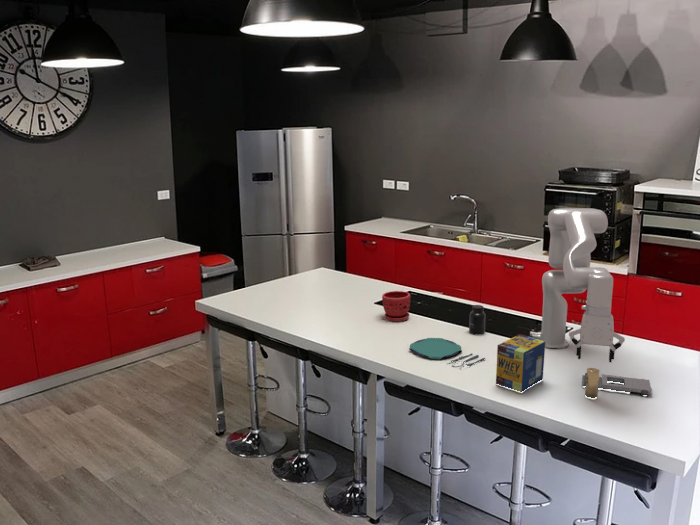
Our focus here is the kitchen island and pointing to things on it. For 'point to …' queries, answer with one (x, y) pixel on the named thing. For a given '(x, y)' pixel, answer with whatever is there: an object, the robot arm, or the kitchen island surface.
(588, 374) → the brass pin
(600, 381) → the hinged hasp latch
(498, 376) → the protein box
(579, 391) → the kitchen island surface
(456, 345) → the cutlery set
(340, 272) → the kitchen island surface
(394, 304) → the plant pot
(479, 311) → the supplement bottle
